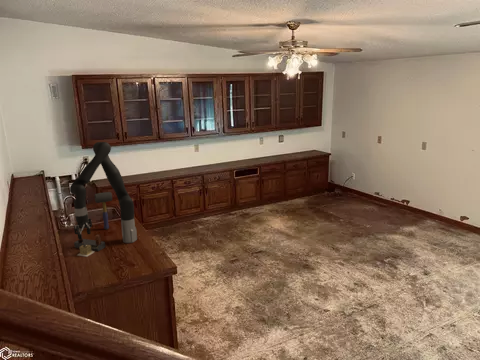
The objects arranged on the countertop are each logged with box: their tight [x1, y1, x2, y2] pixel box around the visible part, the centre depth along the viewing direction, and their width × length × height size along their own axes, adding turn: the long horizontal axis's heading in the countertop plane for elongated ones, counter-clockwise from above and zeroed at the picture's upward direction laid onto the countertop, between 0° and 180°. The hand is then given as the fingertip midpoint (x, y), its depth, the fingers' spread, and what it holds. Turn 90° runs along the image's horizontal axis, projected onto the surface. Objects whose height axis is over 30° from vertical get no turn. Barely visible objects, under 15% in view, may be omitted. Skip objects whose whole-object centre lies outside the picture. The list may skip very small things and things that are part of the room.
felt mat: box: [77, 250, 96, 258], centre depth 248 cm, size 8×8×1 cm
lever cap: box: [79, 244, 93, 255], centre depth 247 cm, size 6×4×6 cm
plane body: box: [73, 234, 106, 252], centre depth 256 cm, size 20×7×10 cm, turn 73°
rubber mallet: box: [94, 191, 113, 230], centre depth 286 cm, size 12×8×30 cm, turn 117°
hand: (84, 236), depth 245 cm, fingers open, 8 cm apart
